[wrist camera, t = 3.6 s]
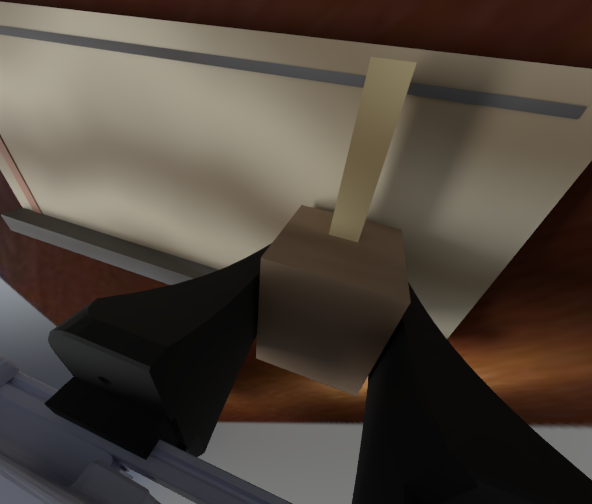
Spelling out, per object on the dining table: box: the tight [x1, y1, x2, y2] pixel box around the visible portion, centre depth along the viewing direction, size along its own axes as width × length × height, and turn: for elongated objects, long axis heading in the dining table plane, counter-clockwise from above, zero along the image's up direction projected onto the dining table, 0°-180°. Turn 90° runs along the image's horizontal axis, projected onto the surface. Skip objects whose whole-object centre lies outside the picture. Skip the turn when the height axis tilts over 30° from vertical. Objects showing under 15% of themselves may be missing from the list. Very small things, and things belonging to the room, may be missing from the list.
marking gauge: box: [256, 57, 417, 396], centre depth 8 cm, size 10×4×4 cm, turn 173°
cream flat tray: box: [0, 2, 592, 339], centre depth 12 cm, size 12×28×3 cm, turn 83°
